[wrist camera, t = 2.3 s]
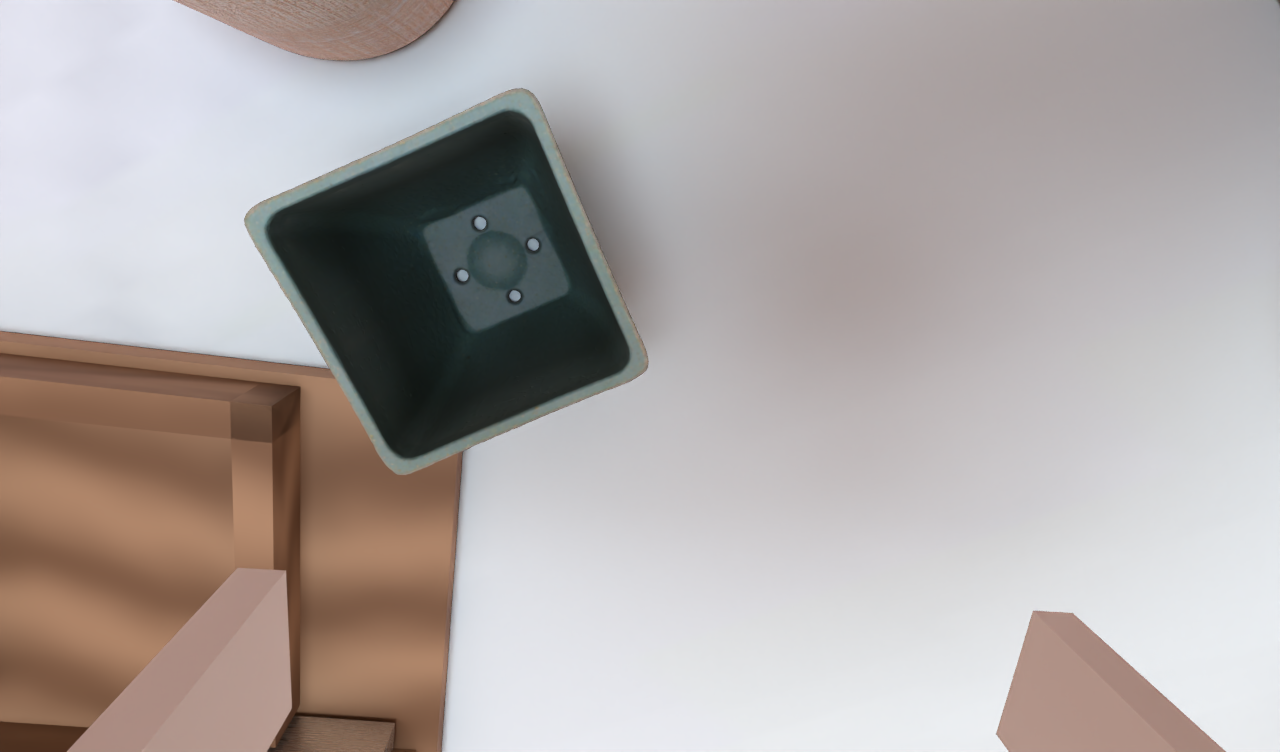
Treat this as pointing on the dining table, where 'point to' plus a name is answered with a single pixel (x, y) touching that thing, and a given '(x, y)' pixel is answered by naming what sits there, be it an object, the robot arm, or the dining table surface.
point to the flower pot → (452, 283)
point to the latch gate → (336, 736)
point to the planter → (328, 23)
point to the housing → (209, 534)
